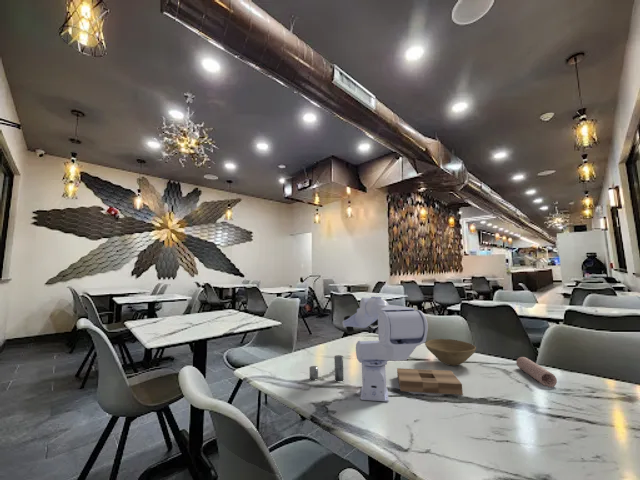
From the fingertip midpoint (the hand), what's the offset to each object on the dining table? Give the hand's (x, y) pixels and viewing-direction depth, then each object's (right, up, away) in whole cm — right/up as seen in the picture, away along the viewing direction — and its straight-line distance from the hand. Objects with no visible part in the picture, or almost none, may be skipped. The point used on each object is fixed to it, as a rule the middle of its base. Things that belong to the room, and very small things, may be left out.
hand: (357, 325), depth 108 cm
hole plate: (+21, -14, -16) cm, 30 cm away
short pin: (-17, -16, -9) cm, 25 cm away
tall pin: (-8, -16, -11) cm, 21 cm away
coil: (+60, -15, -11) cm, 63 cm away
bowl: (+38, -17, +4) cm, 41 cm away
